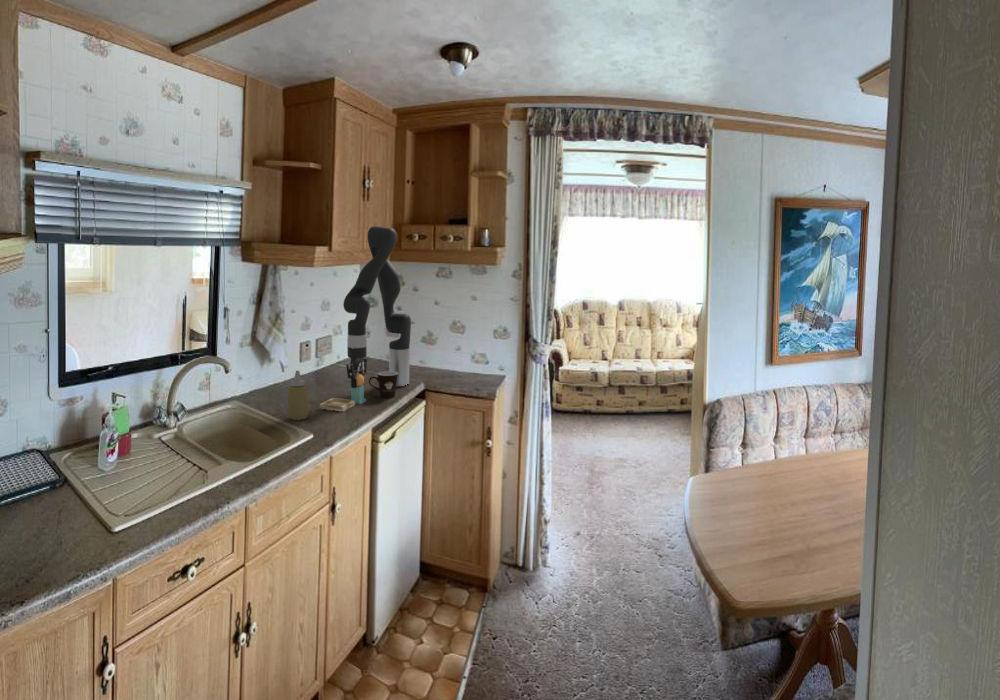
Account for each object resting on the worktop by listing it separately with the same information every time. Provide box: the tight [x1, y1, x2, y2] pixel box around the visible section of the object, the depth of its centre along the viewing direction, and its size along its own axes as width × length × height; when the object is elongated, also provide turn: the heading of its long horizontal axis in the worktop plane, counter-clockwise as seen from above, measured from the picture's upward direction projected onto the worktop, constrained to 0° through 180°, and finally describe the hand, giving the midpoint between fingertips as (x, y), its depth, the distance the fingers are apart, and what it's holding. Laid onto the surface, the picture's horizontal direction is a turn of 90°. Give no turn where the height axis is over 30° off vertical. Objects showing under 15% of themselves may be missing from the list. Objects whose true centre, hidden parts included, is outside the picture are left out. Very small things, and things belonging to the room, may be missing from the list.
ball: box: [349, 373, 365, 387], centre depth 233 cm, size 6×6×6 cm
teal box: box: [350, 384, 367, 405], centre depth 234 cm, size 5×5×7 cm
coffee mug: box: [368, 370, 398, 399], centre depth 245 cm, size 12×9×10 cm
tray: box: [319, 397, 356, 412], centre depth 227 cm, size 10×10×2 cm
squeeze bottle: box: [286, 370, 311, 421], centre depth 210 cm, size 8×8×18 cm
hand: (357, 385), depth 234 cm, fingers closed on ball, 5 cm apart
